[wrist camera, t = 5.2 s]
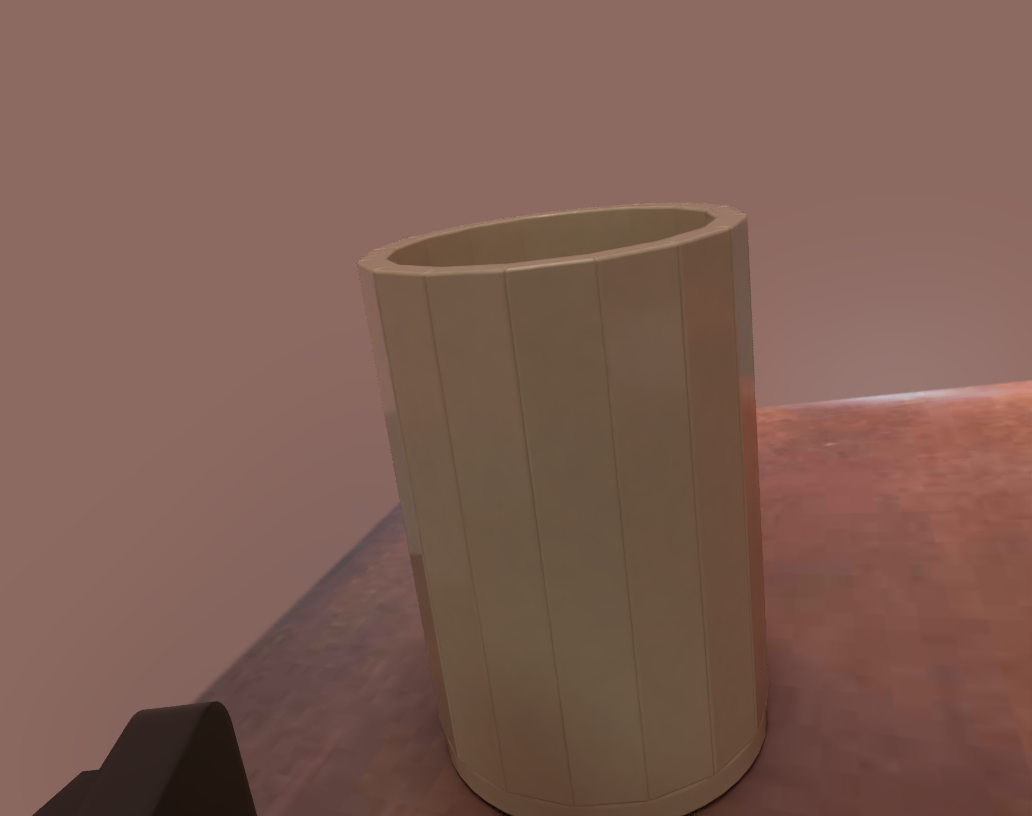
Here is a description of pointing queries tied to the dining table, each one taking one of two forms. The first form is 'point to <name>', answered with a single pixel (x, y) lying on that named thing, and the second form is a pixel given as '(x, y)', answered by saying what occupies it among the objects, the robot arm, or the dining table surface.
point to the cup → (581, 499)
